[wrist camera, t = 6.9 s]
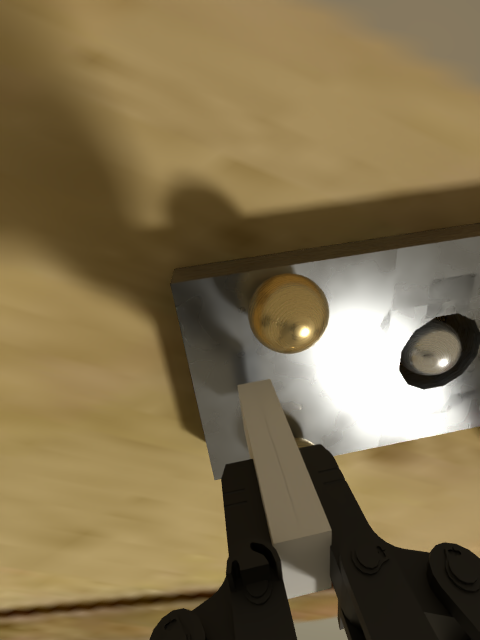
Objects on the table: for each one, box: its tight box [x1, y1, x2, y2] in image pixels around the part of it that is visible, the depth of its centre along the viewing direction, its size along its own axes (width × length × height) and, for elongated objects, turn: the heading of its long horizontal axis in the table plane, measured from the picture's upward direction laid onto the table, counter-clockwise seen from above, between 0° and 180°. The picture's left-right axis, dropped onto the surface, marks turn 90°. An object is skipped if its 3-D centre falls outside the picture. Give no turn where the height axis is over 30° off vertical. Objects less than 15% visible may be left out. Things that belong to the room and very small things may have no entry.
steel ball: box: [400, 318, 462, 375], centre depth 17 cm, size 3×3×3 cm
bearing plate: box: [170, 223, 480, 480], centre depth 17 cm, size 18×12×2 cm, turn 97°
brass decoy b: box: [248, 273, 330, 354], centre depth 12 cm, size 3×3×3 cm
